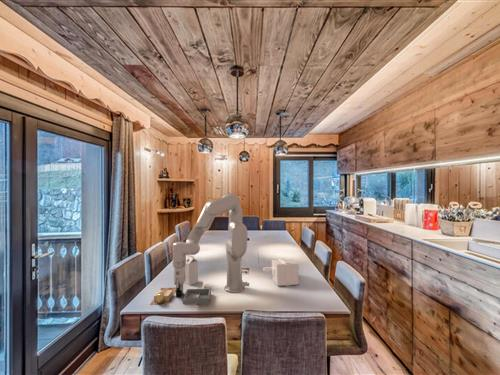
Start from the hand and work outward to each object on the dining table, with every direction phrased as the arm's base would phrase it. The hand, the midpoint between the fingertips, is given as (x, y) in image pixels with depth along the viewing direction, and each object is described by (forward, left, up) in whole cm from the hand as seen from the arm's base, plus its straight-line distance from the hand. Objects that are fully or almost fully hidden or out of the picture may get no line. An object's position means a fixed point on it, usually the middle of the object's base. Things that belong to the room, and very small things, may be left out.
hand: (179, 294), depth 151 cm
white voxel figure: (-65, -24, -2) cm, 69 cm away
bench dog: (+8, +9, 0) cm, 13 cm away
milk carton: (-3, -20, -2) cm, 20 cm away
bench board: (+8, 0, -1) cm, 9 cm away
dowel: (0, 0, -1) cm, 1 cm away
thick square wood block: (+8, +3, 0) cm, 9 cm away
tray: (-11, +4, -1) cm, 12 cm away
